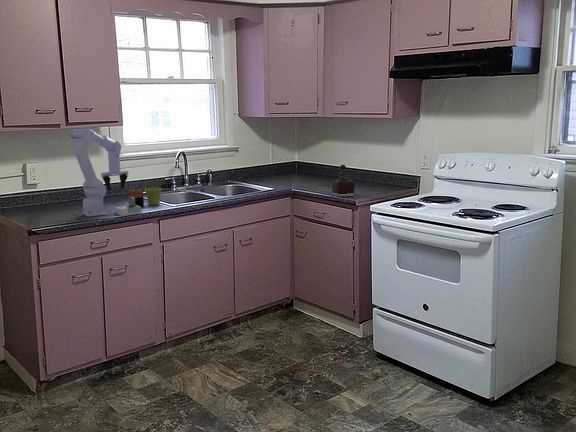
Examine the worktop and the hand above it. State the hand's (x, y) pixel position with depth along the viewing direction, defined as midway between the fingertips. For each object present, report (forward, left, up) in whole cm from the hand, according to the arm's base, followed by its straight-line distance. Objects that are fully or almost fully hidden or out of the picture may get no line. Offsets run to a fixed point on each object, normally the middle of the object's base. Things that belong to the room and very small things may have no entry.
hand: (115, 189), depth 310 cm
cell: (+3, -15, -10) cm, 18 cm away
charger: (+1, -15, -10) cm, 18 cm away
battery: (+10, -3, -11) cm, 15 cm away
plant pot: (+21, 0, -11) cm, 24 cm away
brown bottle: (+128, -35, -11) cm, 133 cm away
